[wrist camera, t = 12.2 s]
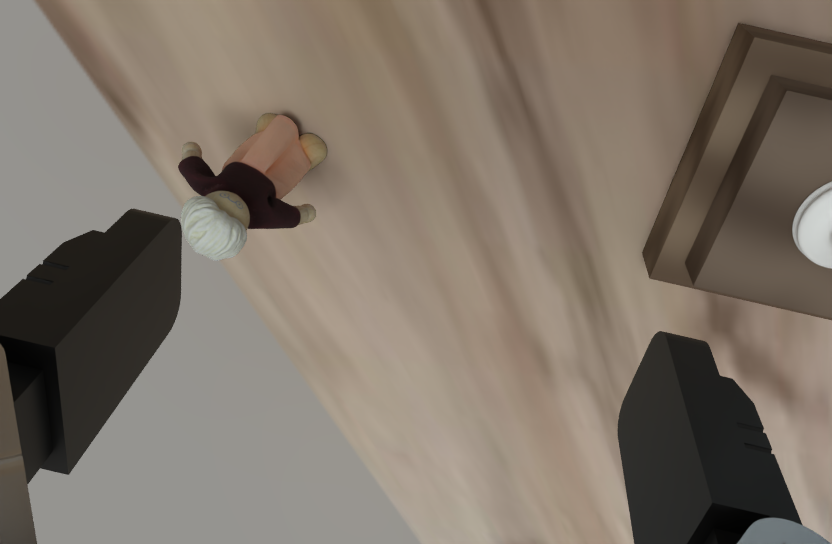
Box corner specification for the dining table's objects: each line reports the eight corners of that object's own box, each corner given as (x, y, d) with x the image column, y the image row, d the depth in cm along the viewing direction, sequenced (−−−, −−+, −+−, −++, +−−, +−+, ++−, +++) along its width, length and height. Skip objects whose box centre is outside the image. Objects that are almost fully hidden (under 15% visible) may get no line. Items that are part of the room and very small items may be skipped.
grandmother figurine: (350, 132, 43) (291, 234, 32) (334, 187, 45) (274, 300, 34) (225, 88, 42) (124, 176, 32) (215, 146, 44) (116, 247, 34)
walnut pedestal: (738, 23, 37) (769, 50, 32) (1007, 83, 37) (1077, 120, 32) (642, 252, 44) (656, 302, 40) (865, 303, 44) (905, 359, 40)
